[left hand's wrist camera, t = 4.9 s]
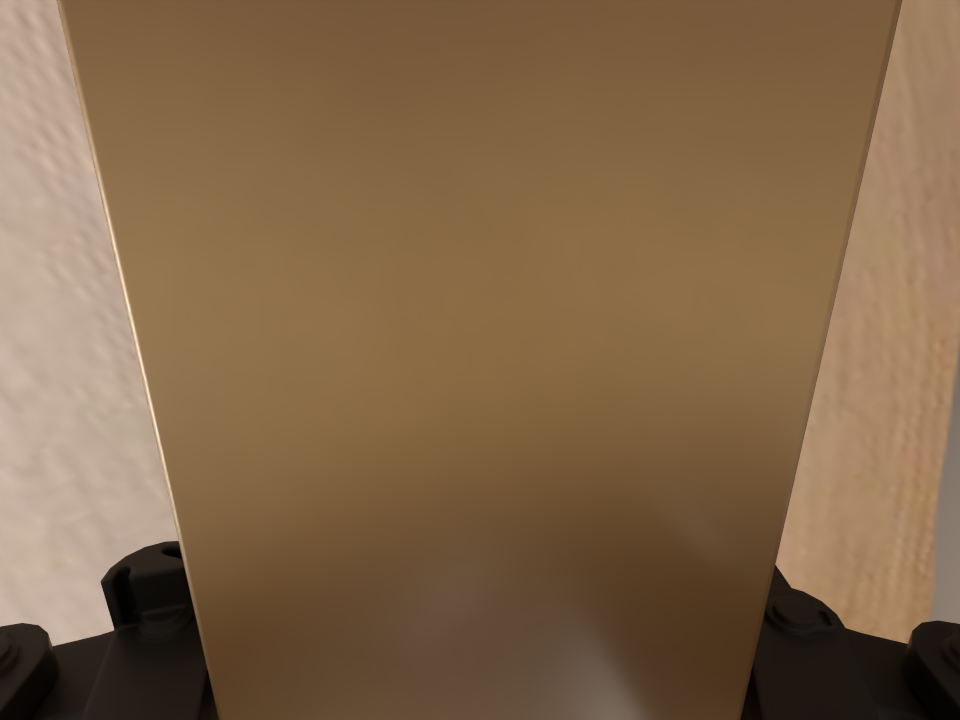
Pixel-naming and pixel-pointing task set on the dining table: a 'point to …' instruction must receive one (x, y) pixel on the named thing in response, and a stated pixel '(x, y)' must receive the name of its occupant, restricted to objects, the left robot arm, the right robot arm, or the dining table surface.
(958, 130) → the dining table surface
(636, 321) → the bar
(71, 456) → the dining table surface
